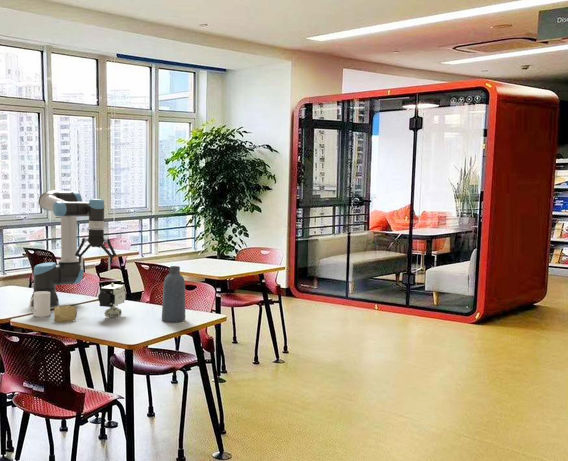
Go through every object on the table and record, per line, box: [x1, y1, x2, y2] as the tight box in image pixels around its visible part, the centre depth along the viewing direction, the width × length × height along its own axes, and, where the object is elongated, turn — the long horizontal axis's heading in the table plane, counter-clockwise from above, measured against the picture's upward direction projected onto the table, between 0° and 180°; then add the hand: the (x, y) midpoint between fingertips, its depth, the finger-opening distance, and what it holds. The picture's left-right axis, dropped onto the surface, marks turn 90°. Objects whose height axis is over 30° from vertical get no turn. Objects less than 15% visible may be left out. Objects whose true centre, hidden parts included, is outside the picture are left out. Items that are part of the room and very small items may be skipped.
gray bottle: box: [161, 265, 186, 323], centre depth 322 cm, size 12×12×28 cm
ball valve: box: [97, 282, 127, 319], centre depth 326 cm, size 18×8×18 cm, turn 168°
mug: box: [29, 291, 51, 318], centre depth 321 cm, size 12×8×12 cm
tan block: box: [53, 304, 78, 323], centre depth 313 cm, size 6×10×7 cm, turn 136°
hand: (95, 269), depth 320 cm, fingers open, 13 cm apart
